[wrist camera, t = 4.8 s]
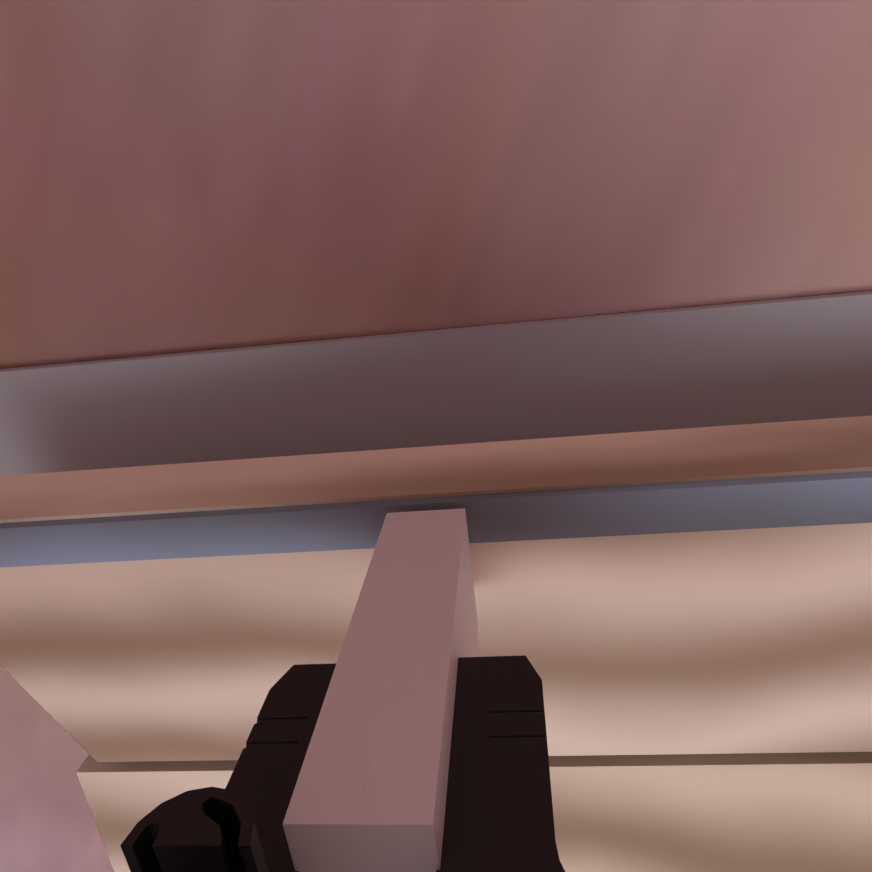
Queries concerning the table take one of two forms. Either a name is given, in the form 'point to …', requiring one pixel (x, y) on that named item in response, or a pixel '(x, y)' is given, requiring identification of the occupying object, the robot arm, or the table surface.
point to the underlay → (447, 386)
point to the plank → (492, 577)
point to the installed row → (616, 809)
